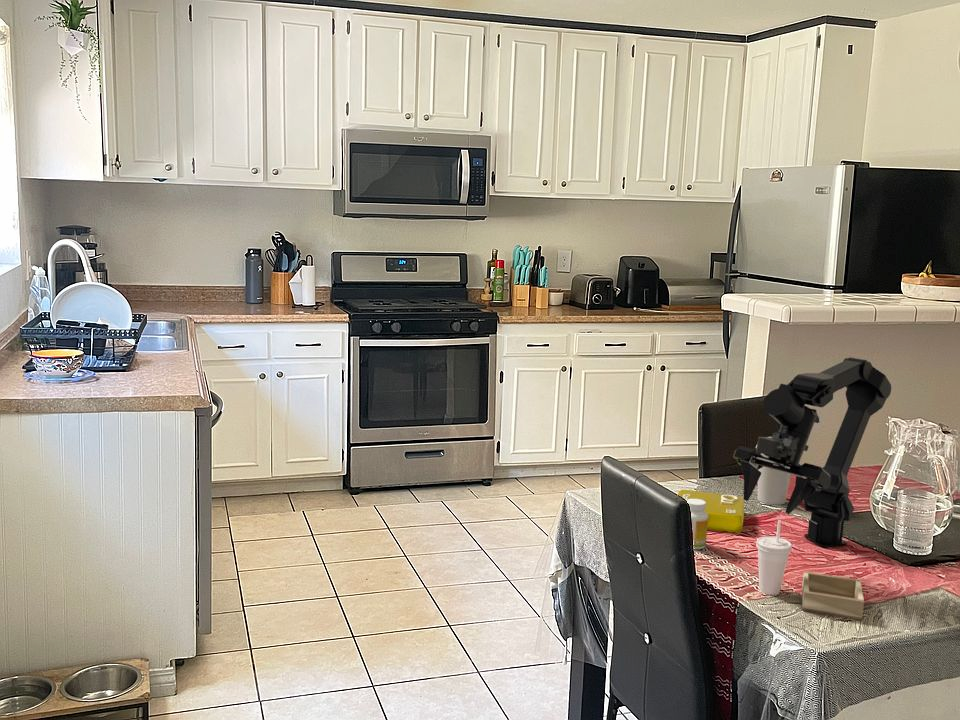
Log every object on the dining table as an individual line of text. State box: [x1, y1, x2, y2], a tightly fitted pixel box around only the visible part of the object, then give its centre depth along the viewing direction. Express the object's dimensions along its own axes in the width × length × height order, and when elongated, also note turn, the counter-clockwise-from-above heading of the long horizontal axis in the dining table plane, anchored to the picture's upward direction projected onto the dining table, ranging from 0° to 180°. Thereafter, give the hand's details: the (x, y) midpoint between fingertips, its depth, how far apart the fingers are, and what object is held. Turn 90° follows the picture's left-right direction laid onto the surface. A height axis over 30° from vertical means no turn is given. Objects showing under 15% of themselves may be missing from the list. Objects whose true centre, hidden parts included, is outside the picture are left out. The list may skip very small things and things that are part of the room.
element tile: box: [677, 489, 745, 533], centre depth 212 cm, size 15×15×5 cm
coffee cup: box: [755, 436, 792, 506], centre depth 225 cm, size 10×10×15 cm
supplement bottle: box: [687, 499, 708, 550], centre depth 195 cm, size 5×5×10 cm
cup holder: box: [801, 570, 865, 621], centre depth 170 cm, size 10×10×4 cm
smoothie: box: [755, 519, 793, 596], centre depth 173 cm, size 6×6×14 cm
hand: (765, 506), depth 181 cm, fingers open, 9 cm apart
